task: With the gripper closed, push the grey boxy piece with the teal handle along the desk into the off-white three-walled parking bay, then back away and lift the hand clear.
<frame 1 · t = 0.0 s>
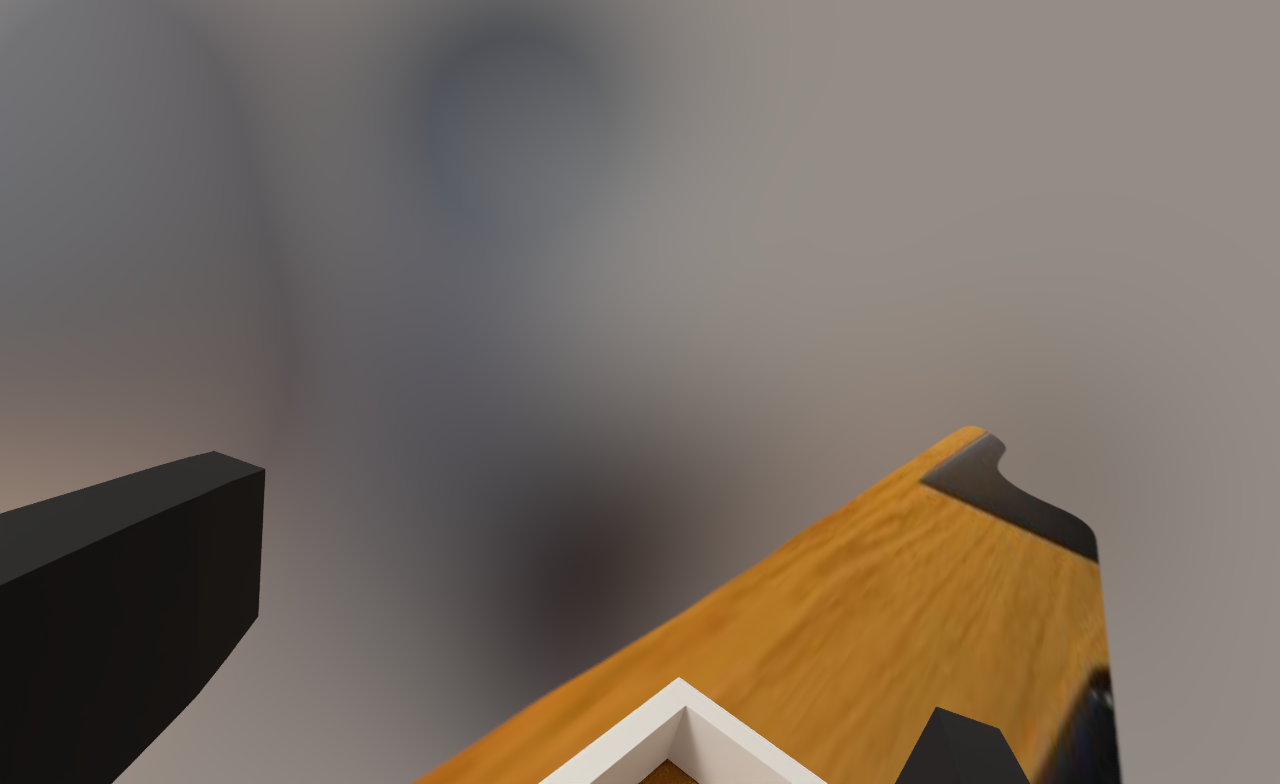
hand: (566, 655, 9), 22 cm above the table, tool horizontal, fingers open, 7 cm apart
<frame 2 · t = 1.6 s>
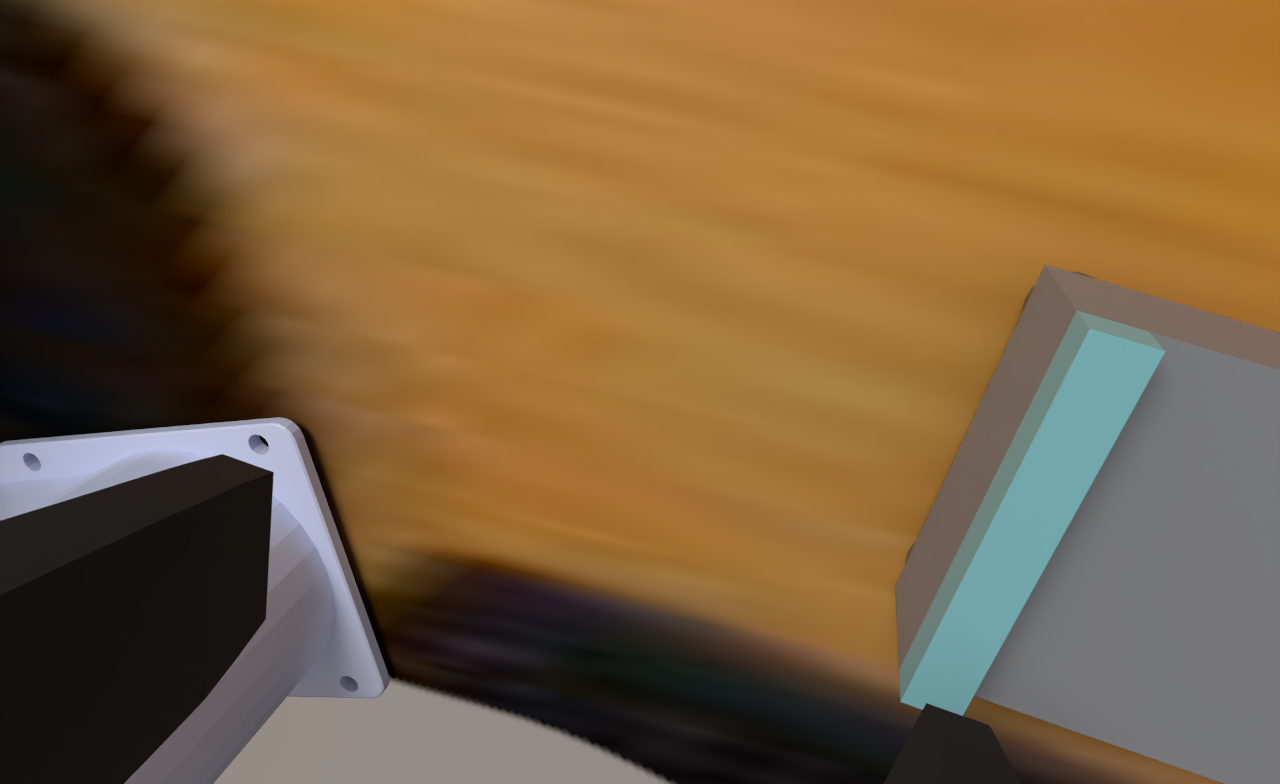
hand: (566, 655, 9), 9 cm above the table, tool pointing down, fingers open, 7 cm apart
grey boxy piece: (1223, 505, 16), on the table
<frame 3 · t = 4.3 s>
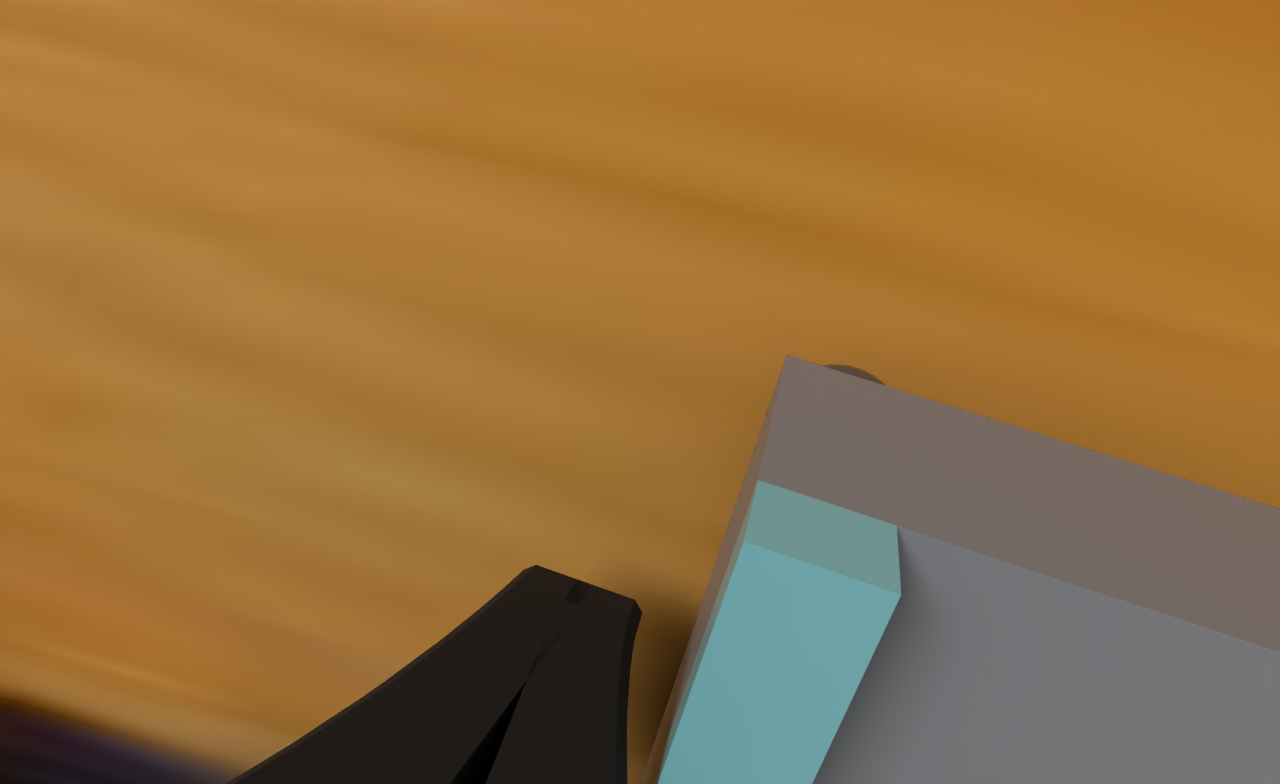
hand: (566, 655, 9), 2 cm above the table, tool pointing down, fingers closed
grey boxy piece: (1118, 730, 10), on the table, touching gripper
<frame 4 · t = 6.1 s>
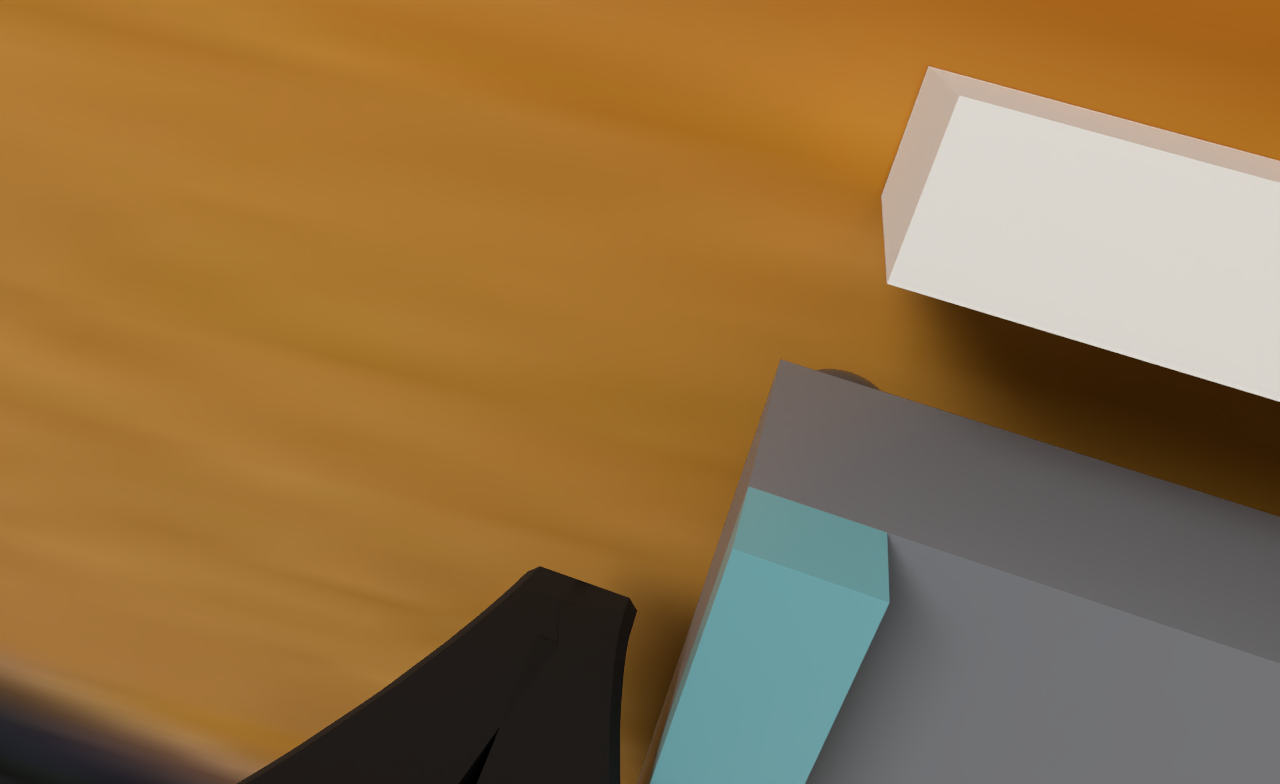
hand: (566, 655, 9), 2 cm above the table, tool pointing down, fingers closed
parking bay: (1154, 742, 10), on the table
grey boxy piece: (1113, 734, 10), on the table, touching gripper
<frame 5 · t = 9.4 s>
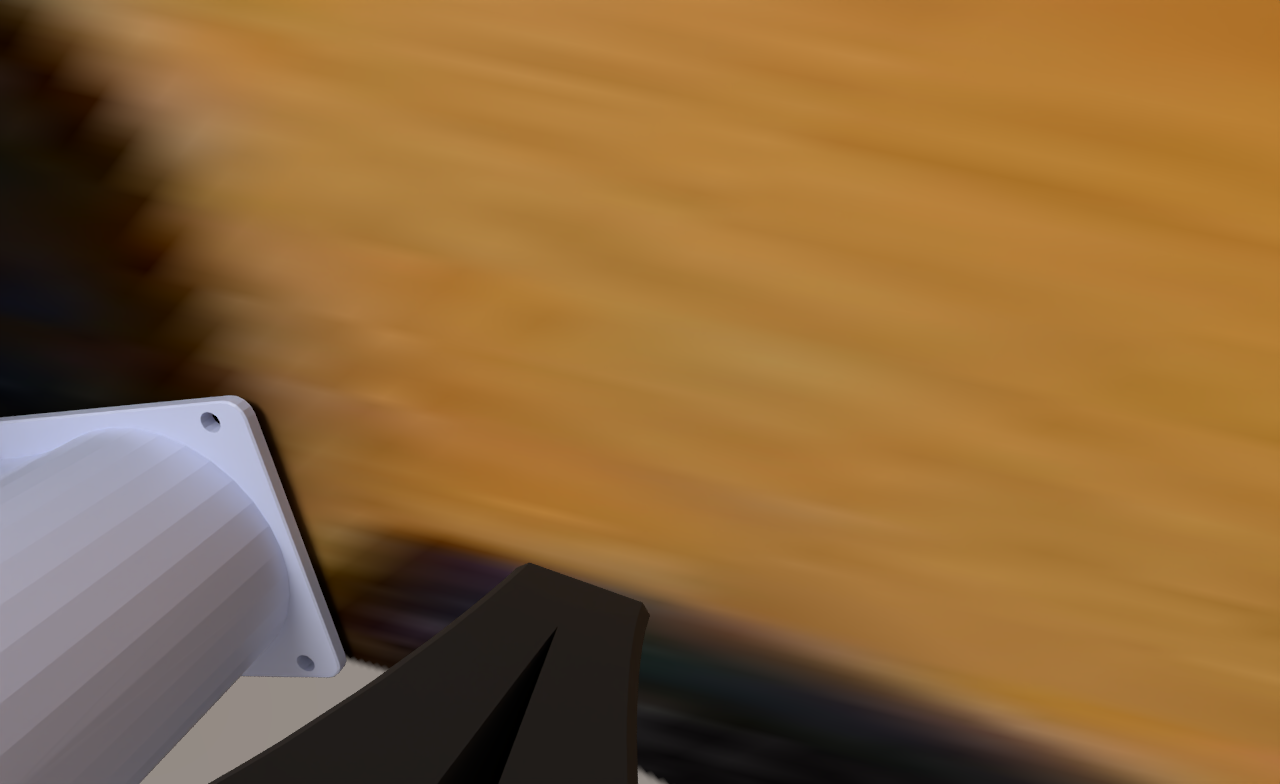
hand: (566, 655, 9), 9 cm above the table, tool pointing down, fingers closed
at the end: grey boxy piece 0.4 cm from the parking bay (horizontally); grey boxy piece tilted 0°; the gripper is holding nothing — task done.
